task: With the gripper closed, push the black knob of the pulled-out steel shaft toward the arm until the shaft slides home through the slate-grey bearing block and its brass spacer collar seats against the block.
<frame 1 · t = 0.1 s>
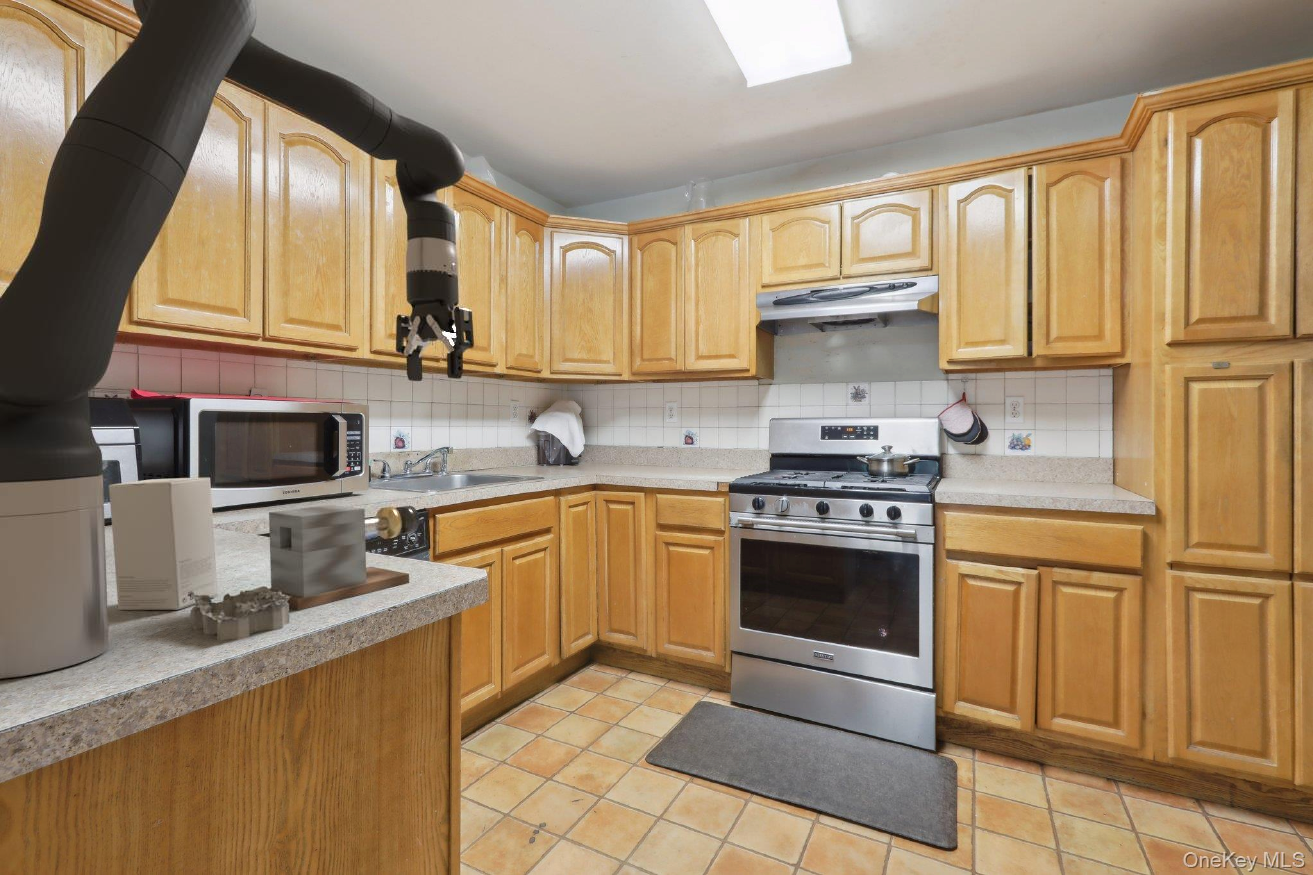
hand: (434, 379, 95), 29 cm above the counter, fingers open, 8 cm apart
skincare box: (167, 605, 77), on the counter
bearing block: (349, 588, 84), on the counter
shaft: (367, 525, 86), point 8 cm above the counter, slide at 5.0 cm
egg carton: (242, 628, 69), on the counter
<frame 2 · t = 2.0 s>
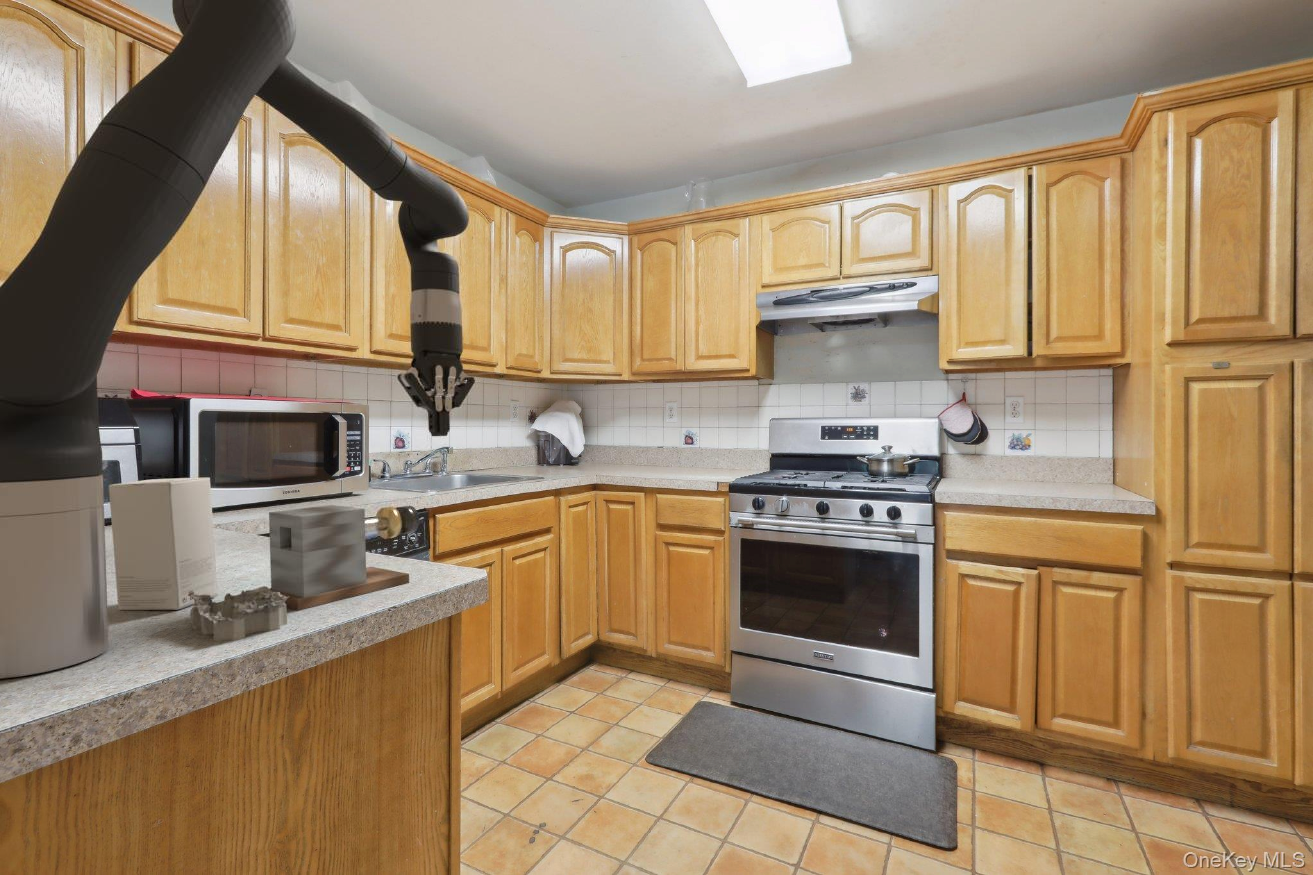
hand: (439, 435, 96), 20 cm above the counter, fingers closed
nothing on the counter moved.
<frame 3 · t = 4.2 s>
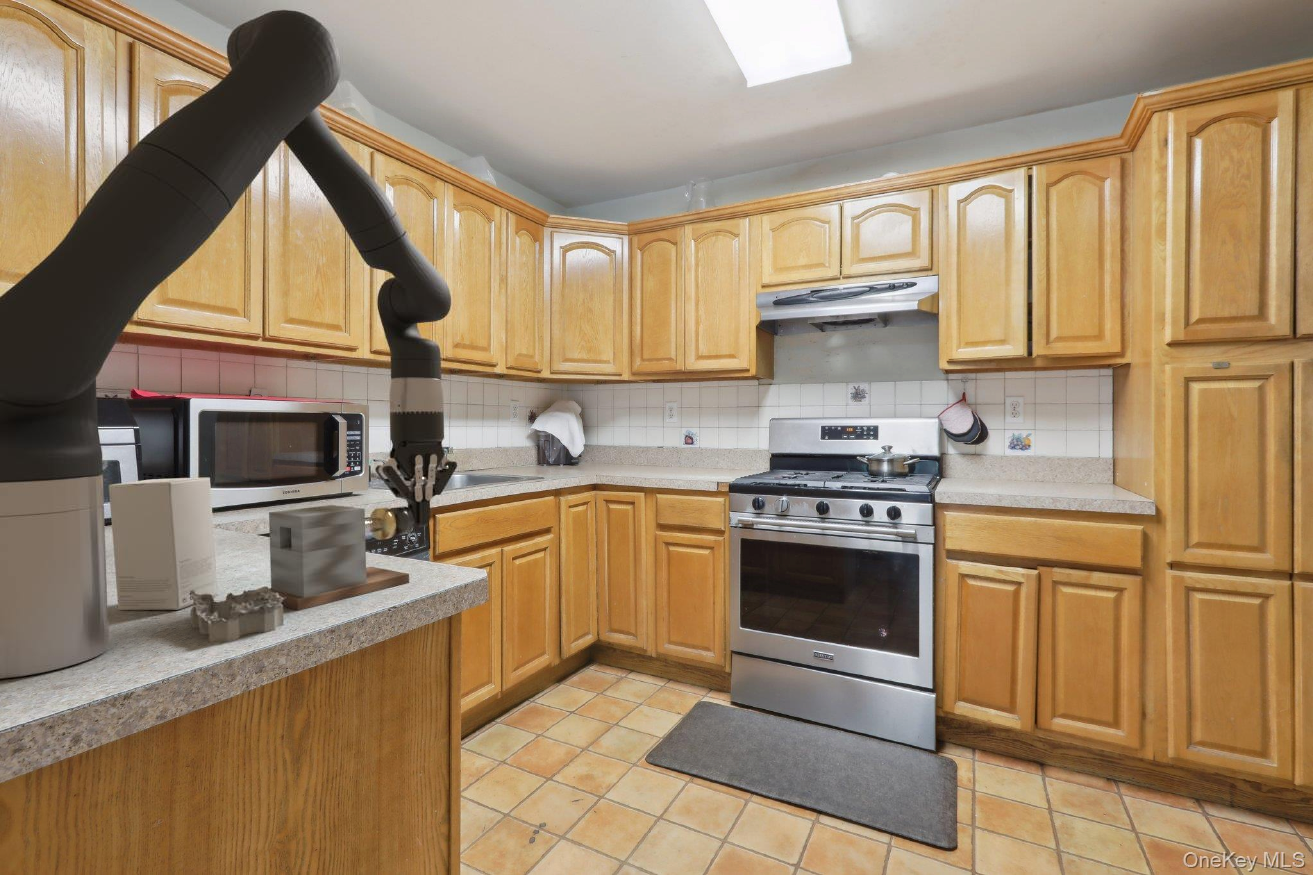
hand: (419, 525, 93), 7 cm above the counter, fingers closed
shaft: (361, 526, 85), point 8 cm above the counter, slide at 4.1 cm, touching gripper
everything else where it was.
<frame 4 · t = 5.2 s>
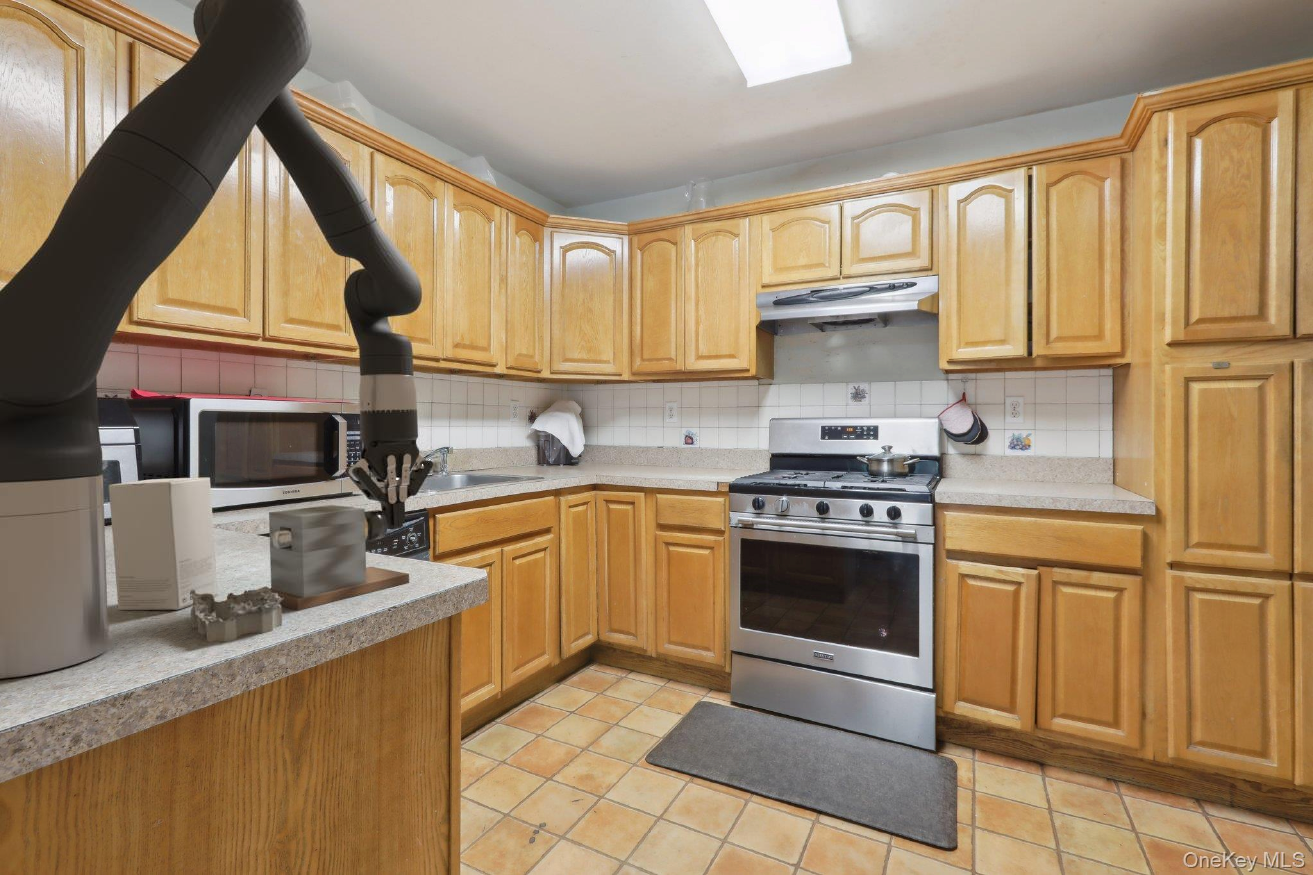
hand: (394, 528, 89), 7 cm above the counter, fingers closed
shaft: (331, 531, 82), point 8 cm above the counter, slide at -0.1 cm, touching gripper
everything else where it was.
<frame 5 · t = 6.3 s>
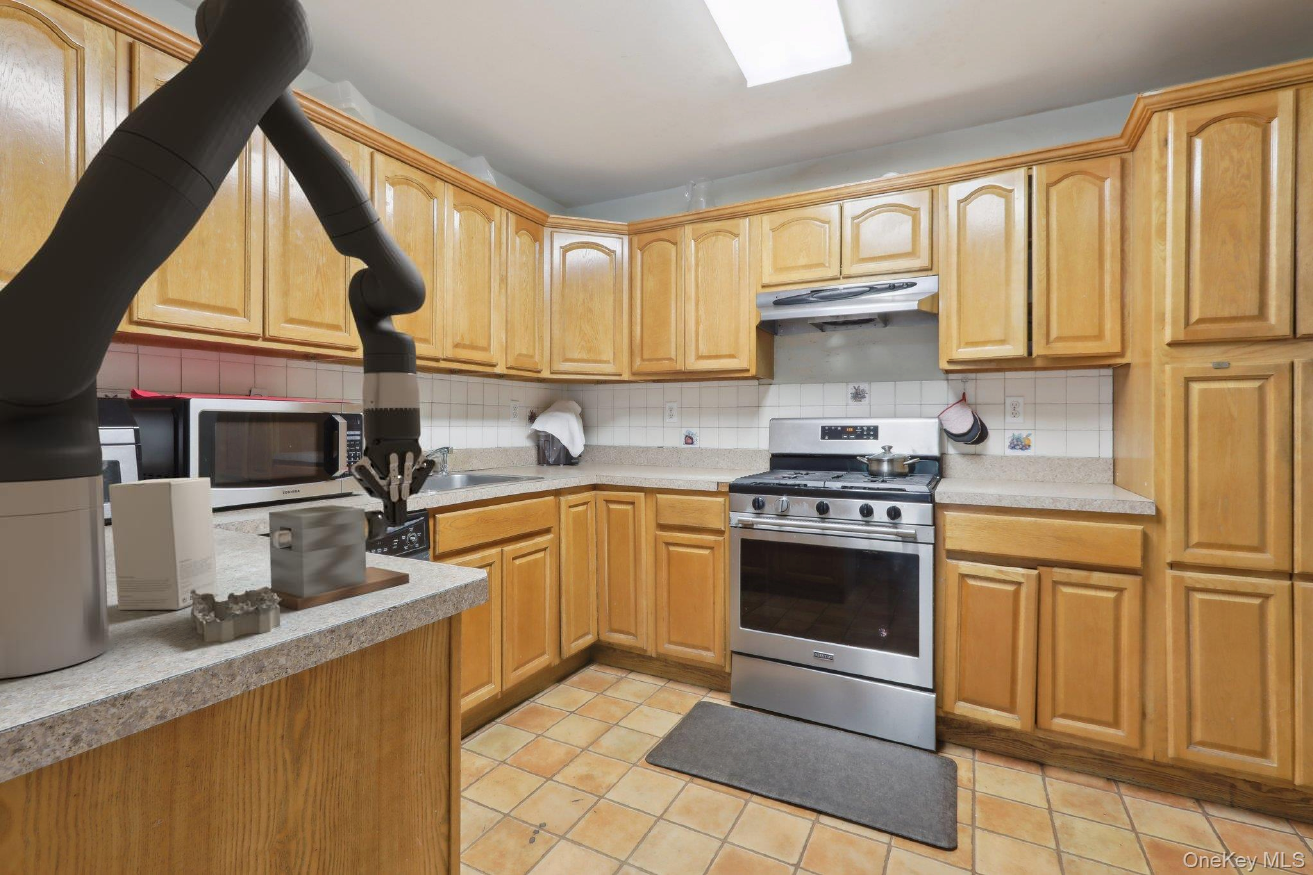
hand: (396, 526, 90), 7 cm above the counter, fingers closed
shaft: (331, 531, 82), point 8 cm above the counter, slide at 0.0 cm
everything else where it was.
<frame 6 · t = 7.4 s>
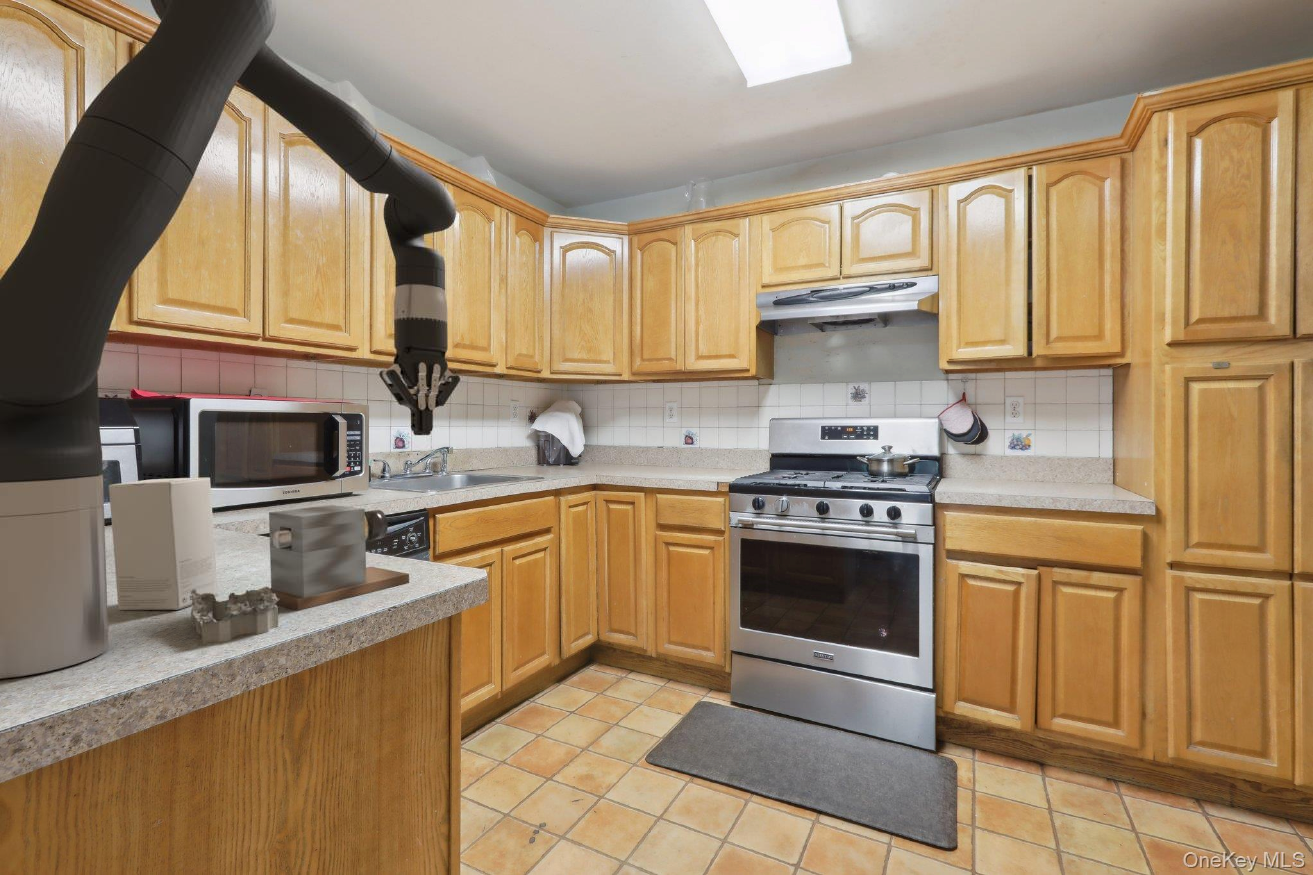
hand: (422, 435, 93), 20 cm above the counter, fingers closed
nothing on the counter moved.
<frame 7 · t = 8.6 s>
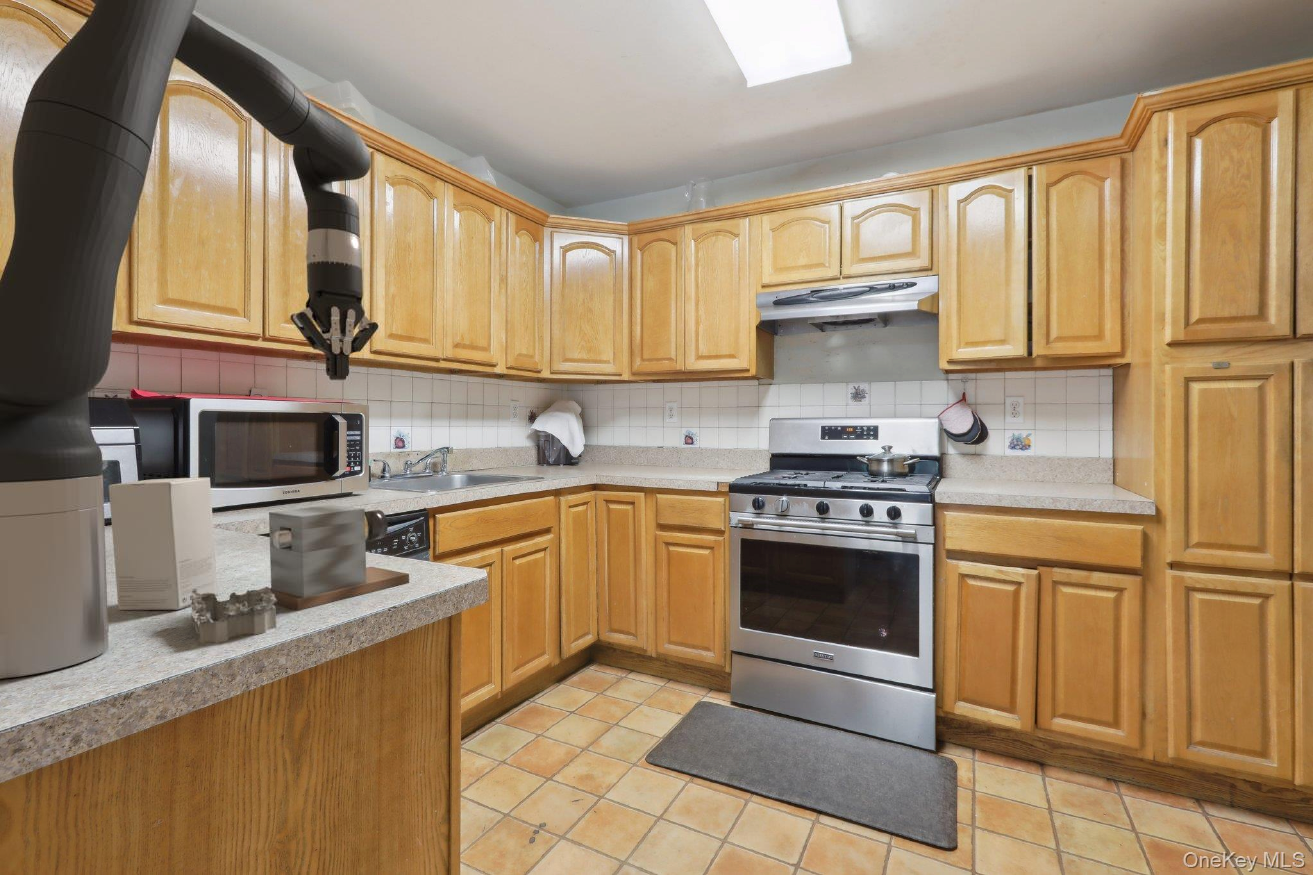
hand: (338, 379, 95), 29 cm above the counter, fingers closed
nothing on the counter moved.
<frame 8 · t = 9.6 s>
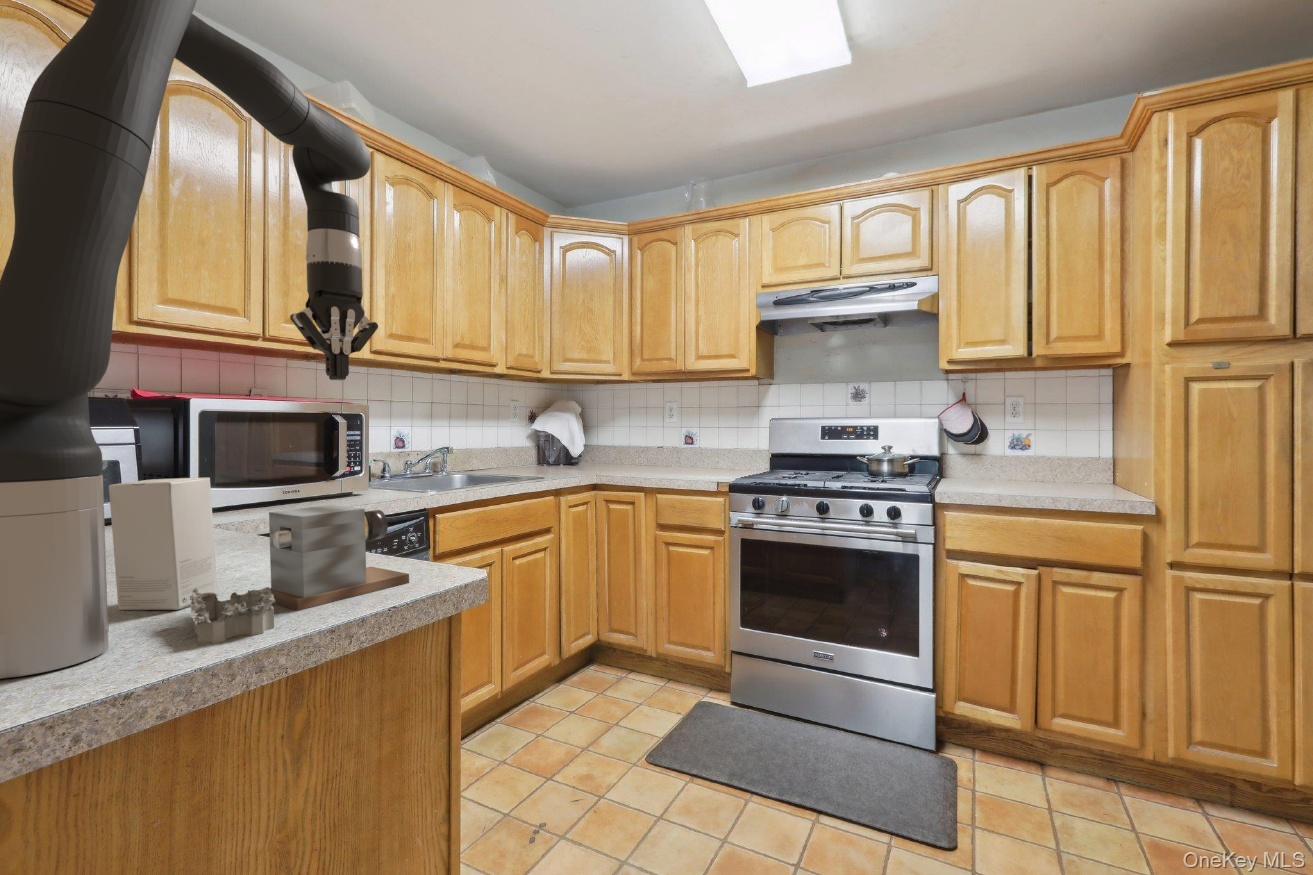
hand: (337, 379, 95), 29 cm above the counter, fingers closed
nothing on the counter moved.
at the end: shaft slide at 0.0 cm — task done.
